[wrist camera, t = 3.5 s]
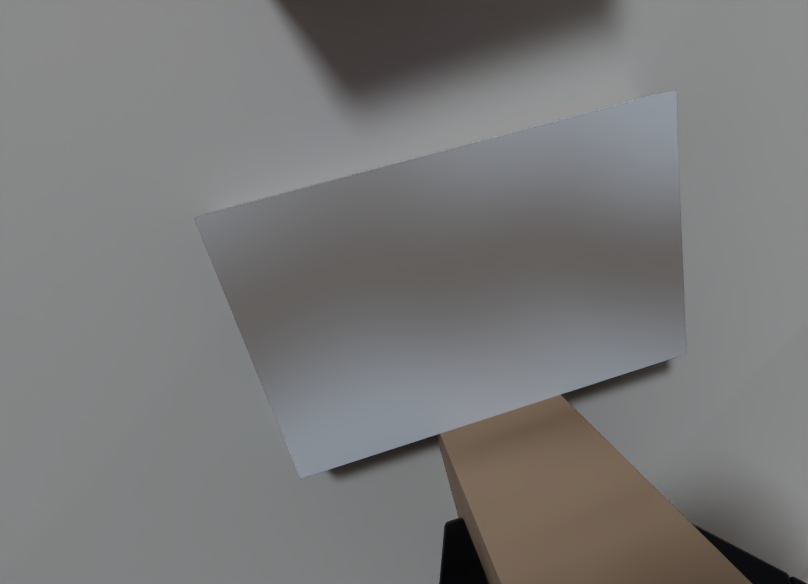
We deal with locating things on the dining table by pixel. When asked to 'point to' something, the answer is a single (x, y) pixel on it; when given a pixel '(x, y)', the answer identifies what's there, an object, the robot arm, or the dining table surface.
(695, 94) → the dining table surface
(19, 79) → the dining table surface
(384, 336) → the turner
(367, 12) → the dining table surface
